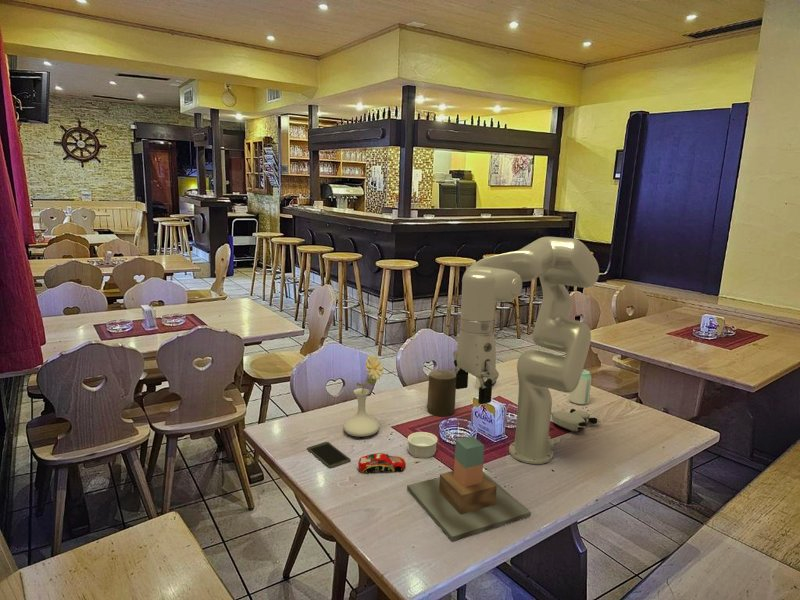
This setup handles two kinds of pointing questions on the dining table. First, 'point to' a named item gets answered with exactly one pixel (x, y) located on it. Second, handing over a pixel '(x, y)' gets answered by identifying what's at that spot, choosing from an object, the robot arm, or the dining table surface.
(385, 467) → the race car
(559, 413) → the robot toy
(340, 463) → the cell phone
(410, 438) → the ramekin
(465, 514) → the tower base
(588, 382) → the can
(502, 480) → the dining table surface
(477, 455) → the teal-grey brick
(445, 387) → the pillar candle
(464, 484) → the terracotta brick
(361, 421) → the flower in vase
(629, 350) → the dining table surface
